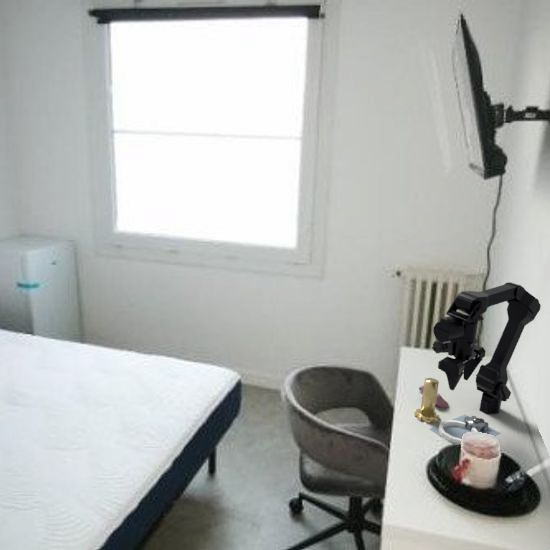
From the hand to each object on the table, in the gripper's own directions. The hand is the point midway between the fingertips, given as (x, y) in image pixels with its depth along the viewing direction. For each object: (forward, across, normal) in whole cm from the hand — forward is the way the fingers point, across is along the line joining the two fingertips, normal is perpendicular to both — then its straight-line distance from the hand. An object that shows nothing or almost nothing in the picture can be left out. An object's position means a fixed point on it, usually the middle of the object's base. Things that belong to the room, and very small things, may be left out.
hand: (458, 384), depth 150 cm
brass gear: (+13, +5, -7) cm, 15 cm away
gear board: (+13, +4, +5) cm, 14 cm away
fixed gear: (+12, -1, +6) cm, 13 cm away
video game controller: (+13, -6, -10) cm, 18 cm away
